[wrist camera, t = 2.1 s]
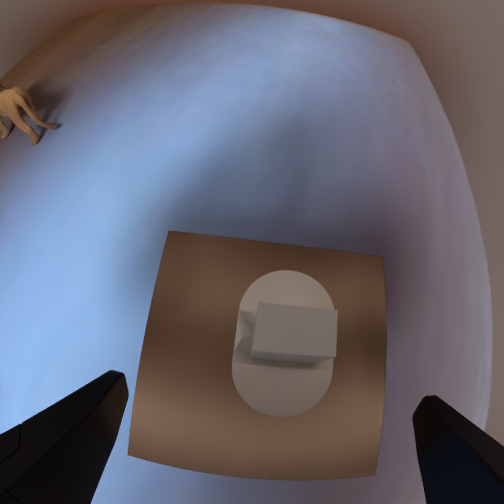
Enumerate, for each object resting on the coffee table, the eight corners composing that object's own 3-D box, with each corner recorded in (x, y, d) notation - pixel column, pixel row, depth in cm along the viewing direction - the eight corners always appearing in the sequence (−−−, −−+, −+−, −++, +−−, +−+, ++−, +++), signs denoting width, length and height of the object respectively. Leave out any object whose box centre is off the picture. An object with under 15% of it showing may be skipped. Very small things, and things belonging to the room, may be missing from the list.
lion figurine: (-17, 146, 25) (-46, 101, 17) (4, 119, 27) (-20, 73, 19) (46, 146, 24) (13, 82, 16) (72, 113, 27) (47, 51, 19)
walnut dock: (348, 460, 14) (375, 475, 11) (150, 442, 14) (127, 454, 11) (358, 281, 19) (383, 256, 16) (180, 260, 20) (168, 230, 16)
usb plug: (295, 408, 12) (349, 424, 6) (230, 402, 12) (222, 417, 6) (304, 314, 14) (354, 251, 8) (242, 308, 14) (246, 238, 8)
